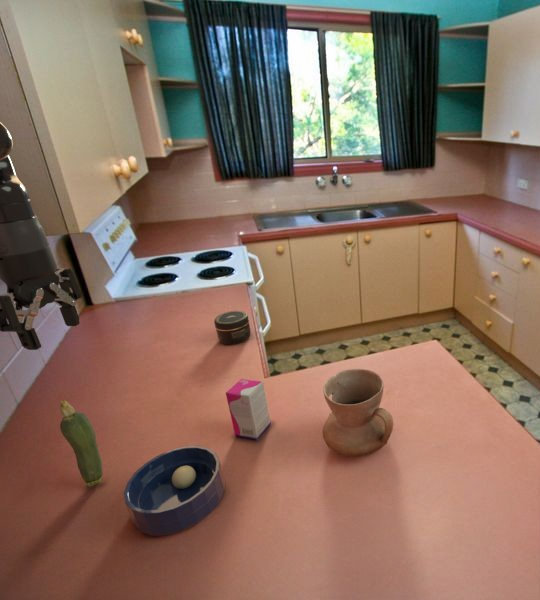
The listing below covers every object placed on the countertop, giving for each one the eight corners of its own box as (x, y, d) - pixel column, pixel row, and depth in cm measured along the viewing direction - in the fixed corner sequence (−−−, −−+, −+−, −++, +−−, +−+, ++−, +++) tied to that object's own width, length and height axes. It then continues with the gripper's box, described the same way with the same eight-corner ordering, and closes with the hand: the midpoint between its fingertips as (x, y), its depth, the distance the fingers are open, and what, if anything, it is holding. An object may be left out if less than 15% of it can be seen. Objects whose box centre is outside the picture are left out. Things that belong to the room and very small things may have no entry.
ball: (177, 497, 78) (171, 481, 76) (172, 483, 81) (167, 467, 79) (200, 486, 80) (195, 470, 78) (195, 473, 83) (190, 457, 81)
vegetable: (89, 476, 84) (53, 392, 76) (114, 470, 85) (81, 387, 77) (83, 493, 80) (44, 407, 72) (109, 486, 81) (74, 401, 73)
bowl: (140, 556, 68) (129, 530, 66) (129, 494, 80) (120, 470, 77) (236, 507, 76) (229, 482, 74) (213, 457, 88) (207, 434, 85)
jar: (214, 338, 136) (209, 316, 132) (244, 328, 141) (240, 307, 138) (225, 349, 129) (220, 327, 125) (257, 338, 134) (253, 316, 131)
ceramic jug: (306, 441, 91) (298, 386, 85) (354, 407, 101) (350, 356, 95) (366, 483, 80) (361, 423, 75) (414, 440, 90) (413, 384, 85)
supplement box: (271, 423, 97) (264, 380, 92) (257, 440, 92) (248, 397, 87) (249, 419, 98) (240, 377, 94) (234, 436, 93) (224, 393, 89)
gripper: (34, 236, 75) (66, 318, 81) (-48, 261, 62) (-3, 357, 68) (75, 235, 74) (103, 318, 81) (0, 261, 61) (41, 358, 68)
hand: (54, 336), depth 74 cm, fingers open, 8 cm apart
